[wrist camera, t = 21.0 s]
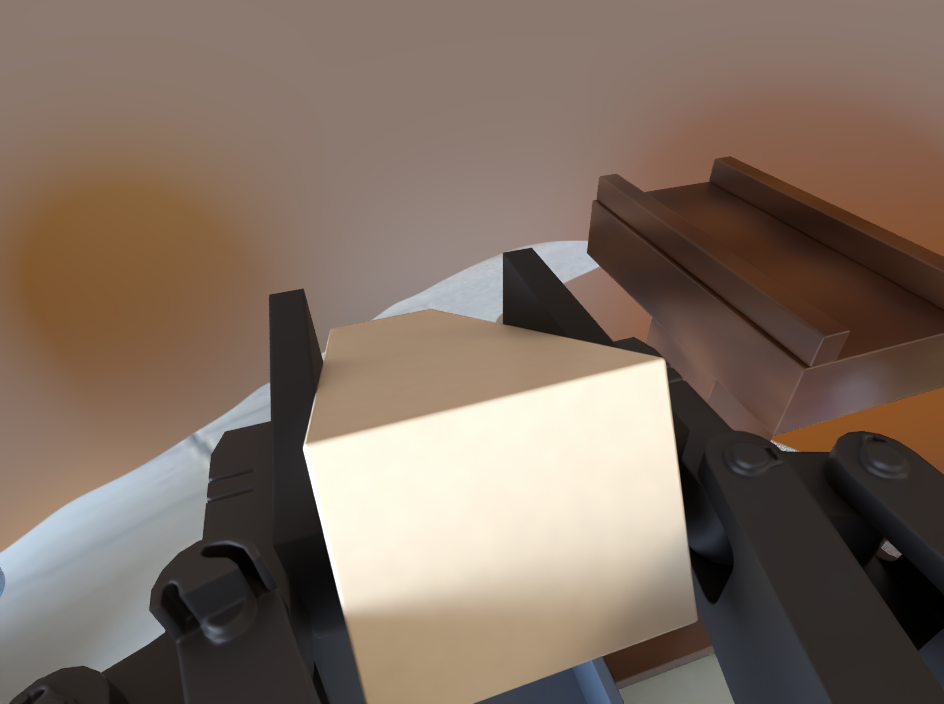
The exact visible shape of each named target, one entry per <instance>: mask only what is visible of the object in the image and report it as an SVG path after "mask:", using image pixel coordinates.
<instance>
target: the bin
mask: <svg viewBox="0 0 944 704" xmlns="http://www.w3.org/2000/svg"><path fill="white" fill-rule="evenodd" d="M312 639H313V653H314V659H315V661H316V663H317V665H318V667H319V669H320V672H321V675H322V678H323V681H324V684H325V686H326V689H327V692H328V695H329V698H330V701H331V704H365V702H364V698H363V694H362V690H361V686H360V682H359V678H358V673H357V669H356V665H355V661H354V657H353V653H352V649H351V645H350V640H349V636H348V632H347V630H345V631H342V632H338V633H335V634H332V635H329V636H326V637H323V638H320V639H317V638H316V636H315V634H314V632H313V630H312ZM474 704H624V702H623V700H622V698H621V696H620V694H619V691H618V689H617V687H616V685H615V683H614V681H613V679H612V677H611V674H610V672H609V670H608V668H607V666H606V664H605V662H604V660H603V657H599V658H596V659H594V660H591V661H588V662H585V663H583V664H580V665H577V666H574V667H572V668H569V669H566V670H564V671H561V672H558V673H555V674H553V675H550V676H547V677H544V678H542V679H539V680H536V681H534V682H531V683H528V684H525V685H523V686H520V687H517V688H514V689H512V690H509V691H506V692H504V693H501V694H498V695H495V696H493V697H490V698H487V699H484V700H482V701H479V702H476V703H474Z"/></svg>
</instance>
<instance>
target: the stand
mask: <svg viewBox="0 0 944 704" xmlns="http://www.w3.org/2000/svg"><path fill="white" fill-rule="evenodd" d="M709 181H710V182H705V183H698V184H692V185H686V186H680V187H674V188H667V189H661V190H655V191H649V192H643V191H642V190H640V189H639V188H637V187H636V186H634V185H633V184H631V183H630V182H628V181H627V180H625V179H624V178H622V177H621V176H619V175H618V174H612V175H606V176H600V177H599V185H598V192H597V200H594V201H593V205H592V213H591V222H590V230H589V239H588V248H587V254H588V255H589V256H590V257H591V258H592V259H593V260H594V261H595V262H596V263H597V264H598V265H599V266H601V267H602V268H603V269H604V270H605V271H606V272H607V273H608V274H609V275H610V276H611V277H612V278H613V279H614V280H615V281H616V282H617V283H618V284H619V285H620V286H621V287H622V288H623V289H624V290H625V291H626V292H627V293H628V294H629V295H630V296H631V297H632V298H633V299H634V300H635V301H636V302H637V303H638V304H639V305H640V306H642V308H643V309H644V310H646V311H647V312H648V313H649V314H650V315H651V316H652V320H651V325H650V330H649V334H648V339H647V343H646V344H647V345H649V346H651V347H653V348H655V349H656V350H657V351H658V352H659V353H660V354H661V355H662V356H663V357H664V359H665V360H666V361H667V362H668V363H669V364H670V367H671V368H674V369H675V370H676V371H677V372H678V373H679V374H680V375H681V376H682V377H683V378H682V379H683V381H686V382H687V383H688V384H689V385H690V386H691V387H692V388H693V389H694V390H695V391H696V392H697V393H698V394H699V395H700V396H701V397H702V398H703V399H704V400H705V401H706V402H707V404H708V405H709V406H710V407H711V408H712V409H713V410H714V411H715V412H716V413H717V414H718V415H719V416H720V417H721V418H722V419H723V420H724V421H725V422H726V423H727V424H728V425H729V427H730V428H732V429H733V430H734V431H746V432H749V433H752V434H755V435H758V436H761V437H763V438H765V439H766V440H768V441H771V439H772V436H773V435H774V436H775V435H779V434H782V433H786V432H789V431H793V430H796V429H800V428H803V427H807V426H810V425H814V424H817V423H821V422H824V421H828V420H831V419H835V418H838V417H842V416H845V415H849V414H852V413H855V412H859V411H862V410H866V409H869V408H873V407H876V406H880V405H883V404H887V403H890V402H894V401H897V400H901V399H904V398H908V397H911V396H915V395H918V394H922V393H925V392H929V391H932V390H935V389H939V388H942V387H944V257H943V256H941V255H939V254H937V253H934V252H932V251H930V250H928V249H926V248H924V247H922V246H920V245H918V244H915V243H913V242H911V241H909V240H907V239H905V238H903V237H900V236H898V235H896V234H894V233H892V232H890V231H888V230H886V229H884V228H881V227H879V226H877V225H875V224H873V223H870V222H869V221H866V220H864V219H862V218H860V217H858V216H856V215H854V214H852V213H850V212H847V211H845V210H843V209H841V208H839V207H837V206H835V205H833V204H830V203H828V202H826V201H824V200H822V199H820V198H818V197H815V196H813V195H811V194H809V193H807V192H805V191H803V190H801V189H799V188H796V187H794V186H792V185H790V184H788V183H786V182H783V181H782V180H779V179H777V178H775V177H773V176H771V175H769V174H766V173H764V172H762V171H760V170H758V169H756V168H754V167H752V166H750V165H747V164H745V163H743V162H741V161H739V160H737V159H735V158H733V157H724V158H718V159H715V160H714V164H713V167H712V172H711V176H710V180H709ZM696 608H697V605H696ZM697 616H698V620H697V621H696V622H695V623H692V624H689V625H686V626H684V627H681V628H678V629H675V630H673V631H670V632H667V633H665V634H662V635H659V636H656V637H654V638H651V639H648V640H645V641H643V642H640V643H637V644H635V645H632V646H629V647H626V648H624V649H621V650H618V651H615V652H613V653H610V654H607V655H605V656H602V657H603V660H604V662H605V664H606V666H607V668H608V670H609V672H610V674H611V677H612V679H613V681H614V683H615V685H616V687H617V689H621V688H624V687H626V686H629V685H631V684H634V683H637V682H639V681H642V680H645V679H647V678H650V677H653V676H655V675H658V674H660V673H663V672H666V671H668V670H671V669H674V668H676V667H679V666H681V665H684V664H687V663H689V662H692V661H695V660H697V659H700V658H703V657H705V656H708V655H710V654H713V653H715V652H714V649H713V646H712V644H711V641H710V639H709V636H708V634H707V631H706V628H705V626H704V623H703V621H702V618H701V616H700V613H699V610H698V608H697Z"/></svg>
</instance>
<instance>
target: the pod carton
mask: <svg viewBox="0 0 944 704" xmlns="http://www.w3.org/2000/svg"><path fill="white" fill-rule="evenodd" d="M303 451H304V455H305V459H306V463H307V467H308V471H309V475H310V479H311V484H312V488H313V492H314V496H315V500H316V504H317V508H318V512H319V517H320V521H321V525H322V529H323V533H324V537H325V541H326V545H327V550H328V554H329V558H330V562H331V566H332V570H333V574H334V578H335V583H336V587H337V591H338V595H339V599H340V603H341V607H342V611H343V616H344V620H345V624H346V628H347V632H348V636H349V640H350V645H351V649H352V653H353V657H354V661H355V665H356V669H357V673H358V678H359V682H360V686H361V690H362V694H363V698H364V702H365V704H474V703H476V702H479V701H482V700H484V699H487V698H490V697H493V696H495V695H498V694H501V693H504V692H506V691H509V690H512V689H514V688H517V687H520V686H523V685H525V684H528V683H531V682H534V681H536V680H539V679H542V678H544V677H547V676H550V675H553V674H555V673H558V672H561V671H564V670H566V669H569V668H572V667H574V666H577V665H580V664H583V663H585V662H588V661H591V660H594V659H596V658H599V657H602V656H605V655H607V654H610V653H613V652H615V651H618V650H621V649H624V648H626V647H629V646H632V645H635V644H637V643H640V642H643V641H645V640H648V639H651V638H654V637H656V636H659V635H662V634H665V633H667V632H670V631H673V630H675V629H678V628H681V627H684V626H686V625H689V624H692V623H695V622H696V621H697V620H698V616H697V608H696V600H695V592H694V584H693V576H692V568H691V560H690V552H689V544H688V536H687V528H686V520H685V512H684V504H683V496H682V488H681V480H680V472H679V464H678V456H677V448H676V440H675V432H674V424H673V416H672V409H671V401H670V393H669V385H668V377H667V369H666V361H665V359H664V358H661V357H656V356H651V355H647V354H642V353H637V352H632V351H628V350H623V349H618V348H613V347H609V346H604V345H599V344H594V343H590V342H585V341H580V340H576V339H571V338H566V337H561V336H557V335H552V334H547V333H542V332H538V331H533V330H528V329H523V328H519V327H514V326H509V325H504V324H499V323H495V322H490V321H485V320H481V319H476V318H471V317H466V316H462V315H457V314H452V313H447V312H443V311H438V310H433V309H428V310H423V311H418V312H413V313H408V314H403V315H398V316H393V317H388V318H383V319H378V320H373V321H368V322H363V323H357V324H353V325H348V326H342V327H337V328H332V329H330V334H329V338H328V342H327V347H326V351H325V355H324V360H323V365H322V369H321V373H320V377H319V382H318V386H317V390H316V394H315V399H314V403H313V407H312V412H311V416H310V420H309V425H308V429H307V433H306V438H305V442H304V447H303Z"/></svg>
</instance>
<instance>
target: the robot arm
mask: <svg viewBox="0 0 944 704" xmlns="http://www.w3.org/2000/svg"><path fill="white" fill-rule="evenodd" d="M269 311H270V312H269V317H270V390H271V421H270V422H265V423H261V424H257V425H252V426H248V427H243V428H239V429H235V430H230V431H226V432H225V433H224V434H223V436H222V438H221V439H220V441H219V443H218V444H217V446H216V448H215V449H214V451H213V453H212V454H211V461H210V471H209V481H210V483H208V491H207V501H208V503H206V510H205V520H204V529H203V539H202V540H200V541H198V542H196V543H195V544H193V545H191V546H190V547H188V548H186V549H185V550H183V551H182V552H180V553H178V555H177V556H176V557H175V558H174V559H173V560H172V561H171V562H170V563H169V564H168V565H167V566H166V567H165V568H164V569H163V570H162V572H161V573H160V575H159V577H158V579H157V581H156V583H155V585H154V587H153V588H152V590H151V598H150V607H149V611H150V612H151V613H152V614H153V615H154V617H155V618H156V619H157V620H158V621H159V622H160V624H161V625H162V626H163V627H164V628H165V630H166V632H165V633H164V634H162V635H161V636H159V637H158V638H157V639H155V640H154V641H152V642H151V643H150V644H148V645H146V646H145V647H143V648H141V649H140V650H138V651H136V652H135V653H133V654H131V655H130V656H128V657H127V658H125V659H123V660H122V661H120V662H118V663H117V664H115V665H113V666H112V667H110V668H108V669H107V670H105V671H103V672H102V673H100V672H99V671H96V670H93V669H90V668H88V667H85V666H79V667H71V668H63V669H60V670H58V671H56V672H53V673H51V674H49V675H47V676H45V677H43V678H40V679H38V680H37V681H35V682H34V683H33V684H32V685H30V686H29V687H28V688H26V689H25V690H24V691H23V692H21V693H20V694H19V695H17V696H16V697H15V698H14V699H13V700H12V701H11V702H10V703H9V704H331V701H330V698H329V695H328V692H327V689H326V686H325V684H324V681H323V678H322V675H321V672H320V669H319V667H318V665H317V663H316V661H315V659H314V653H313V639H312V630H313V632H314V634H315V636H316V638H317V639H320V638H323V637H326V636H329V635H332V634H335V633H338V632H342V631H345V630H347V628H346V624H345V620H344V616H343V611H342V607H341V603H340V599H339V595H338V591H337V587H336V583H335V578H334V574H333V570H332V566H331V562H330V558H329V554H328V550H327V545H326V541H325V537H324V533H323V529H322V525H321V521H320V517H319V512H318V508H317V504H316V500H315V496H314V492H313V488H312V484H311V479H310V475H309V471H308V467H307V463H306V459H305V455H304V451H303V447H304V442H305V438H306V433H307V429H308V425H309V420H310V416H311V412H312V407H313V403H314V399H315V394H316V390H317V386H318V382H319V377H320V373H321V369H322V365H323V359H322V356H321V352H320V348H319V344H318V341H317V337H316V333H315V329H314V326H313V322H312V318H311V314H310V311H309V307H308V303H307V299H306V296H305V292H304V289H299V290H293V291H288V292H282V293H277V294H271V295H269ZM503 324H504V325H509V326H514V327H519V328H523V329H528V330H533V331H538V332H542V333H547V334H552V335H557V336H561V337H566V338H571V339H576V340H580V341H585V342H590V343H594V344H599V345H604V346H609V347H613V348H618V349H623V350H628V351H632V352H637V353H642V354H647V355H651V356H656V357H661V358H664V357H663V356H662V355H661V354H660V353H659V352H658V351H657V350H656V349H655V348H653V347H651V346H649V345H647V344H645V343H644V342H642V341H640V340H638V339H636V338H634V337H632V338H628V339H623V340H619V341H615V342H613V341H612V340H611V338H610V337H609V336H608V335H607V334H606V333H605V332H604V331H603V329H602V328H601V327H600V326H599V325H598V324H597V322H596V321H595V320H594V319H593V318H592V317H591V315H590V314H589V313H588V312H587V311H586V310H585V309H584V307H583V306H582V305H581V304H580V303H579V302H578V300H577V299H576V298H575V297H574V296H573V295H572V294H571V292H570V291H569V290H568V289H567V288H566V287H565V286H564V284H563V283H562V282H561V281H560V280H559V279H558V277H557V276H556V275H555V274H554V273H553V272H552V271H551V269H550V268H549V267H548V266H547V265H546V264H545V262H544V261H543V260H542V259H541V258H540V257H539V256H538V254H537V253H536V252H535V251H534V250H533V249H532V248H527V249H522V250H516V251H510V252H505V253H503ZM665 361H666V360H665ZM666 369H667V377H668V385H669V393H670V401H671V409H672V416H673V424H674V432H675V440H676V448H677V456H678V464H679V472H680V480H681V488H682V496H683V504H684V512H685V520H686V528H687V536H688V544H689V552H690V560H691V568H692V576H693V584H694V592H695V600H696V605H697V608H698V610H699V613H700V616H701V618H702V621H703V623H704V626H705V628H706V631H707V634H708V636H709V639H710V641H711V644H712V646H713V649H714V652H715V654H716V657H717V659H718V662H719V664H720V667H721V669H722V672H723V675H724V677H725V680H726V682H727V685H728V687H729V690H730V693H731V695H732V698H733V700H734V703H735V704H944V475H943V474H942V473H941V472H940V471H938V470H937V469H936V468H935V467H933V466H932V465H931V464H930V463H928V462H927V461H926V460H924V459H923V458H922V457H921V456H919V455H918V454H917V453H916V452H914V451H913V450H911V449H910V448H908V447H906V446H905V445H903V444H902V443H900V442H899V441H897V440H894V439H891V438H889V437H886V436H884V435H881V434H876V433H871V432H865V431H859V432H849V433H847V434H845V435H843V436H841V437H840V438H838V440H837V442H836V444H835V446H834V447H833V449H832V451H831V452H787V451H781V450H780V449H779V448H778V447H777V446H776V445H775V444H773V443H771V442H770V441H768V440H766V439H765V438H763V437H761V436H758V435H755V434H752V433H749V432H746V431H734V430H733V429H732V428H730V427H729V425H728V424H727V423H726V422H725V421H724V420H723V419H722V418H721V417H720V416H719V415H718V414H717V413H716V412H715V411H714V410H713V409H712V408H711V407H710V406H709V405H708V404H707V402H706V401H705V400H704V399H703V398H702V397H701V396H700V395H699V394H698V393H697V392H696V391H695V390H694V389H693V388H692V387H691V386H690V385H689V384H688V383H687V382H686V381H683V379H682V378H683V377H682V376H681V375H680V374H679V373H678V372H677V371H676V370H675V369H674V368H671V367H670V364H669V363H668V362H667V361H666ZM886 540H888V541H889V542H890V543H891V544H892V545H893V546H894V547H895V548H896V549H897V550H898V551H899V552H900V553H901V554H902V555H901V556H900V557H899V558H896V557H894V556H891V555H889V554H888V553H886V552H885V551H884V550H882V549H881V547H882V545H883V544H884V543H885V542H886ZM4 587H5V576H4V573H3V571H2V569H1V568H0V597H1V595H2V593H3V591H4Z"/></svg>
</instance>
